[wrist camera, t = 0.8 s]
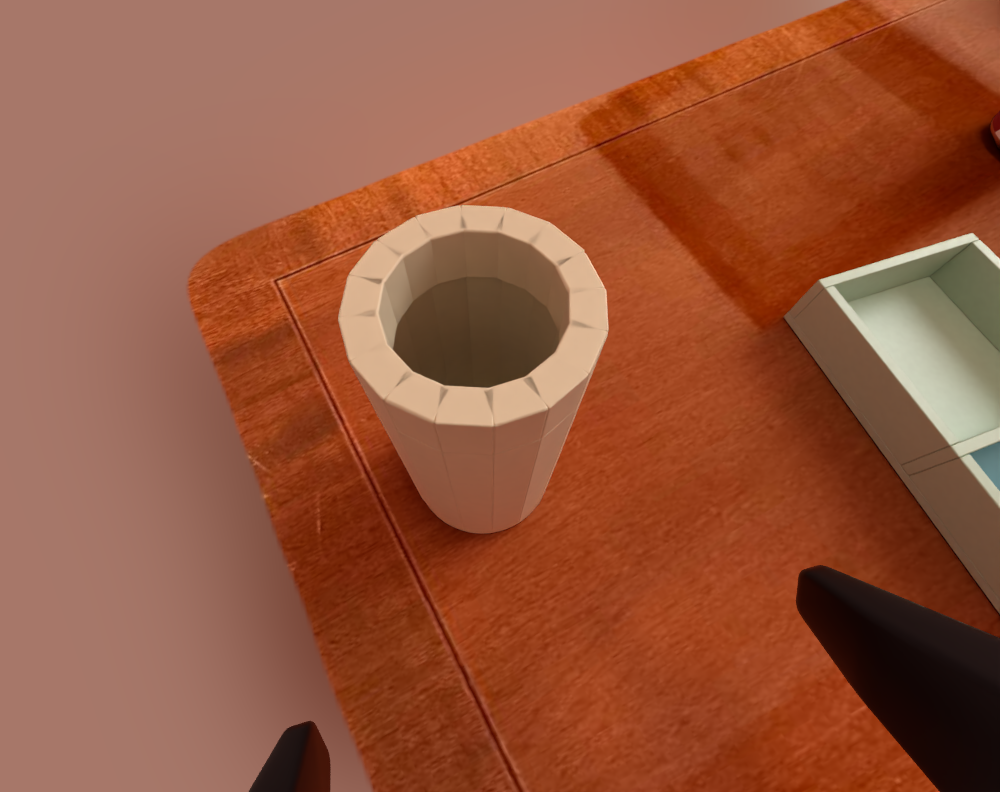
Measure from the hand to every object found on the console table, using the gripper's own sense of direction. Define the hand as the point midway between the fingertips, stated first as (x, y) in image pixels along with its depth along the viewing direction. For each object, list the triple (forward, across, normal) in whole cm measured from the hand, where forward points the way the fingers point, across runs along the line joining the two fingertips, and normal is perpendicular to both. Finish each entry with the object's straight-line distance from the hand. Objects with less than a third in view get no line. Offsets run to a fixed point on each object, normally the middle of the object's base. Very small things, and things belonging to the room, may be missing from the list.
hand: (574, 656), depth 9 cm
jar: (+16, 0, +5) cm, 17 cm away
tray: (+12, -26, +9) cm, 30 cm away
